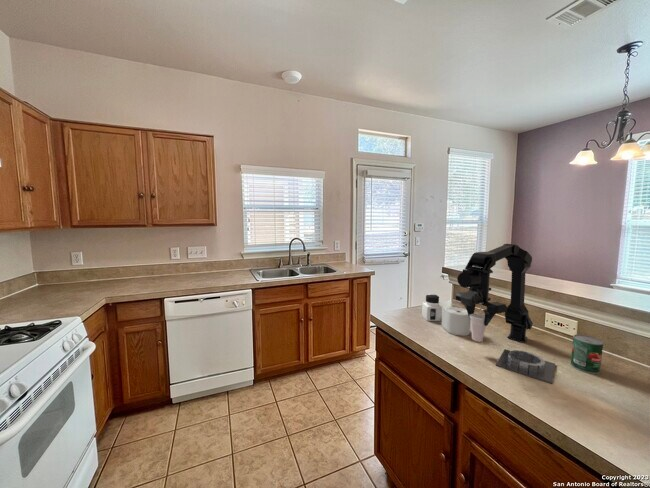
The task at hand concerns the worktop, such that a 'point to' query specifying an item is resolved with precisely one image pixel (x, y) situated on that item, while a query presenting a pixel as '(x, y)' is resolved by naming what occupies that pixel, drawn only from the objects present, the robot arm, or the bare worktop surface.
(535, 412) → the worktop surface
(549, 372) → the duct collar
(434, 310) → the container
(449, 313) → the toilet tissue
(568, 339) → the worktop surface
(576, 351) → the canned tomato
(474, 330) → the smoothie
